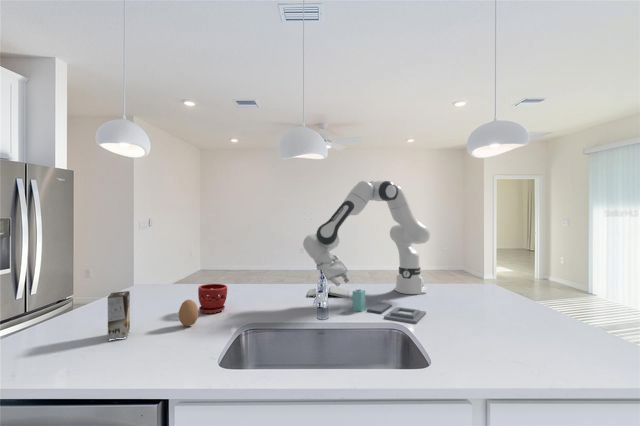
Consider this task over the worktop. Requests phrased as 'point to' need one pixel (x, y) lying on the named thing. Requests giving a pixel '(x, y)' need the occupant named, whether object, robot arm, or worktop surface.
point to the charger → (359, 300)
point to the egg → (188, 313)
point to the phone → (379, 308)
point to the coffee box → (118, 314)
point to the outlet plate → (405, 315)
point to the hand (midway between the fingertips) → (343, 283)
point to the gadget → (332, 292)
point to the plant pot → (212, 297)
